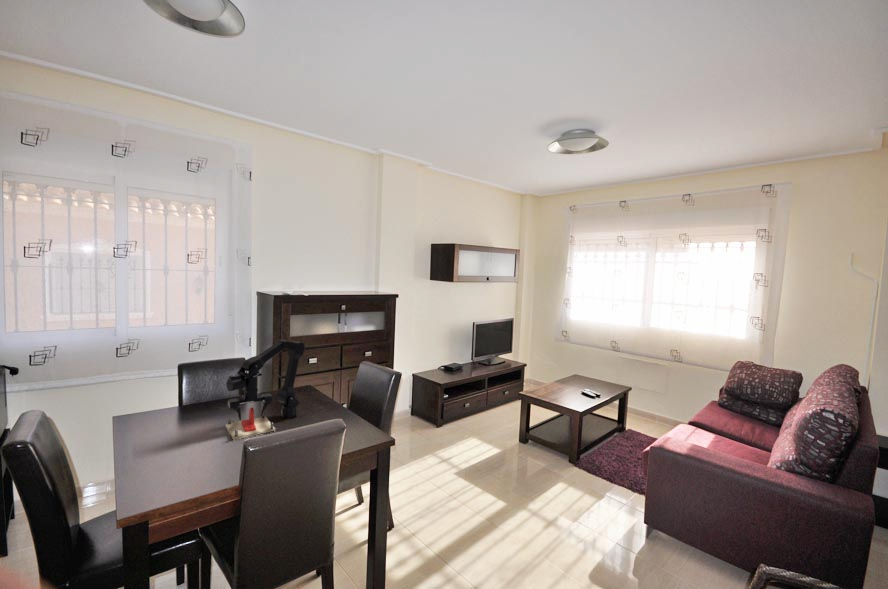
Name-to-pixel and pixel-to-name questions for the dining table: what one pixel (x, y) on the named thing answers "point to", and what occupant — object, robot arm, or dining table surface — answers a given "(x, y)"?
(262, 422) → the peg board
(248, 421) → the bracket
